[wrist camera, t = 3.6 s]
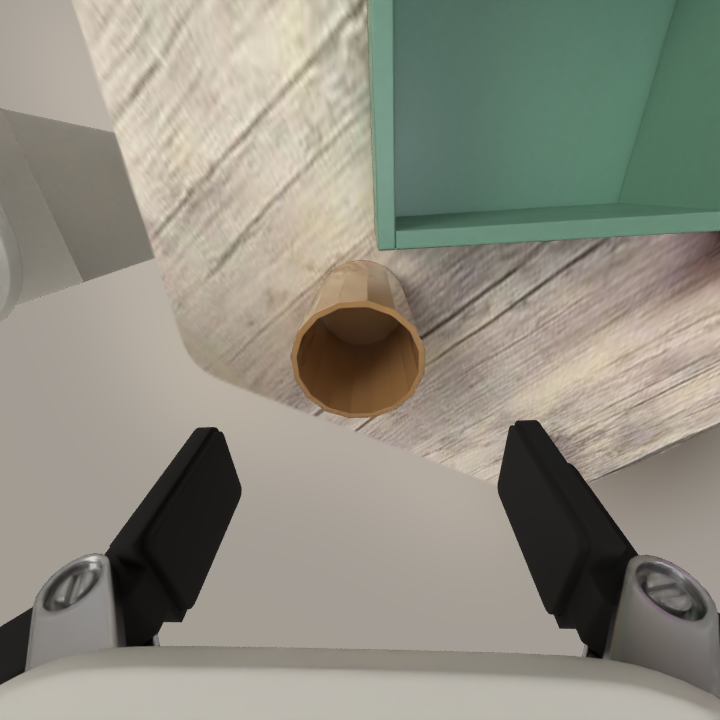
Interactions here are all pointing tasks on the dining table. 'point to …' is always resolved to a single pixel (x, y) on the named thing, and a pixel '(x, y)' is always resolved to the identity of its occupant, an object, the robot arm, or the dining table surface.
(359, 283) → the paper cup
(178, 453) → the robot arm
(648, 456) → the dining table surface
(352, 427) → the dining table surface
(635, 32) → the bin
